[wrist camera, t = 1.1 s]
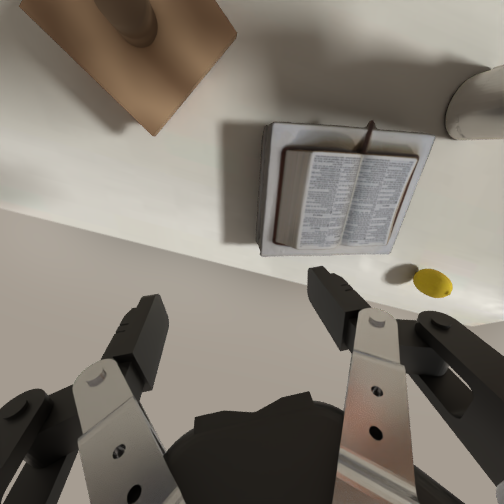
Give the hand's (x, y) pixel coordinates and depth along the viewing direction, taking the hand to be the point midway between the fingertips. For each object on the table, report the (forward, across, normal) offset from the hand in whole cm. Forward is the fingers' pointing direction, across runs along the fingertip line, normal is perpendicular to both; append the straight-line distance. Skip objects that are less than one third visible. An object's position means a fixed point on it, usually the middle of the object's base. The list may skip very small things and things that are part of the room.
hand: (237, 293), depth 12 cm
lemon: (+27, -41, +23) cm, 54 cm away
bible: (+27, -18, +2) cm, 33 cm away
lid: (+22, +6, -19) cm, 29 cm away
